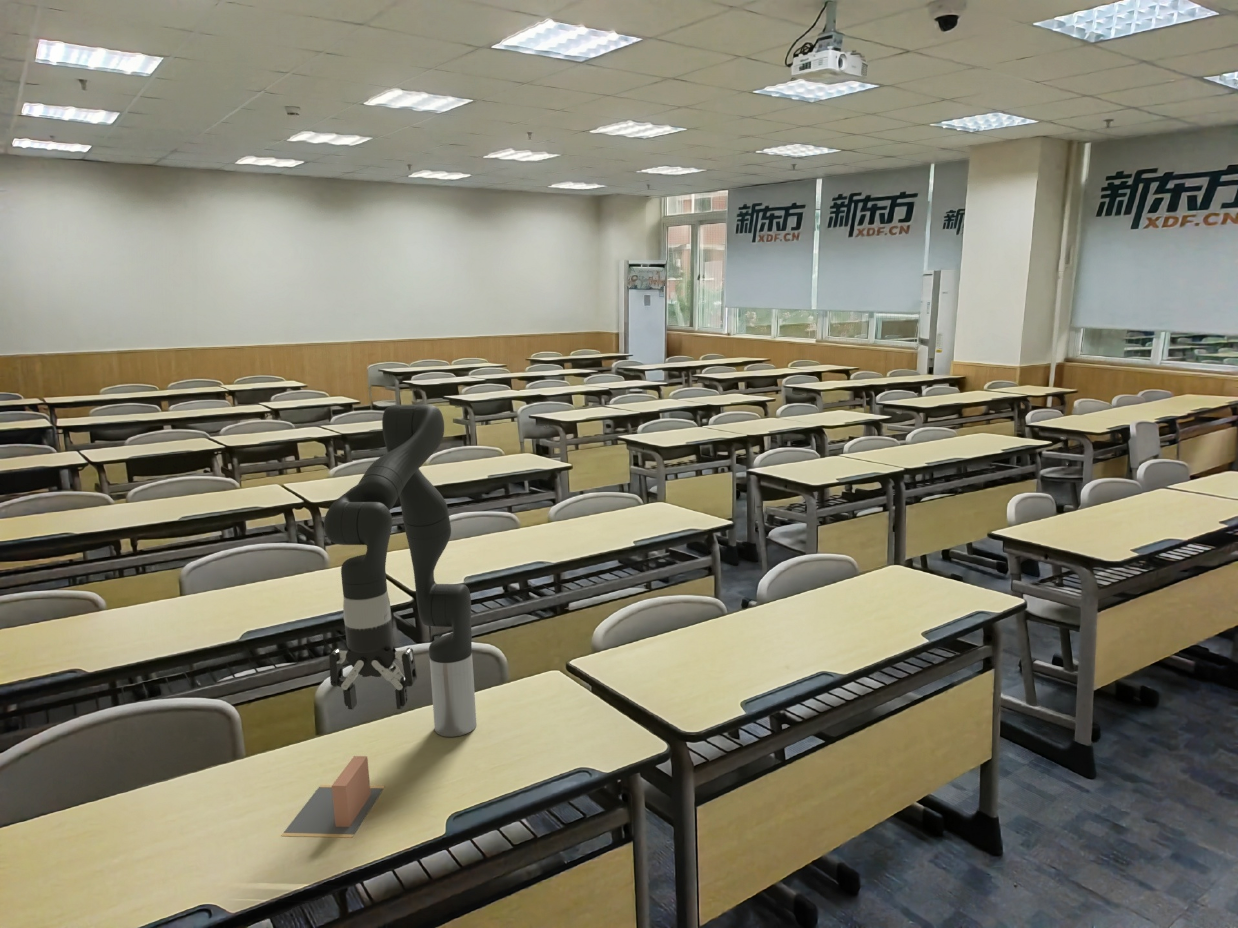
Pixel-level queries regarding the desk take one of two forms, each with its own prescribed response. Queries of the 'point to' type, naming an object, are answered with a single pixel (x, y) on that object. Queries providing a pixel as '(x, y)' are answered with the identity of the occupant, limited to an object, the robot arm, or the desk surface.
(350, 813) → the slab
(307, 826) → the mat
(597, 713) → the desk surface
